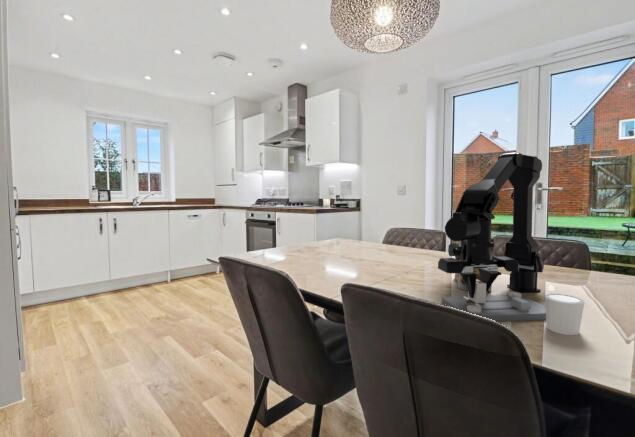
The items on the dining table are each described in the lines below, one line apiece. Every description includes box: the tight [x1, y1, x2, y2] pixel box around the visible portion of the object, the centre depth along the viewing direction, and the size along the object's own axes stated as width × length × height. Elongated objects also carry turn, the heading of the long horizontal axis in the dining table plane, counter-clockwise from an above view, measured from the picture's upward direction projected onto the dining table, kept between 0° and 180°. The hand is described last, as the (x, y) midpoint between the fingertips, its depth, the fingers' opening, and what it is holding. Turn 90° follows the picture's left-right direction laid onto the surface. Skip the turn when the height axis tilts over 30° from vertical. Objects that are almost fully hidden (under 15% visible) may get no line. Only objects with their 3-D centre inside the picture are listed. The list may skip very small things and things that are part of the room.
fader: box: [467, 279, 487, 303], centre depth 85 cm, size 2×4×5 cm, turn 4°
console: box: [441, 291, 546, 323], centre depth 83 cm, size 22×14×4 cm, turn 94°
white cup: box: [544, 293, 585, 336], centre depth 71 cm, size 7×7×7 cm
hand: (476, 297), depth 85 cm, fingers closed on fader, 2 cm apart
